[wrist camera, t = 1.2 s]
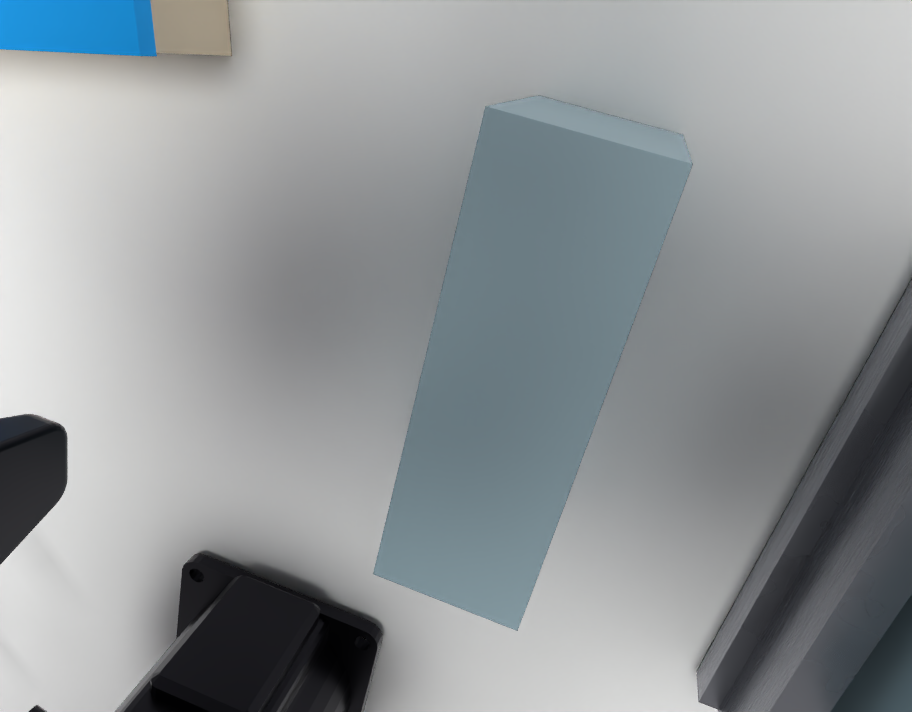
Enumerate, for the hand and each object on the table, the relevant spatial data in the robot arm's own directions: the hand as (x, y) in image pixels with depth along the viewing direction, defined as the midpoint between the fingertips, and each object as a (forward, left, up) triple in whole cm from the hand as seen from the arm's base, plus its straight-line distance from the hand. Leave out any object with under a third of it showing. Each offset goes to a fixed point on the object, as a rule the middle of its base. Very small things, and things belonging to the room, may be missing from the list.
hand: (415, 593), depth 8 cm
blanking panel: (0, 0, -10) cm, 10 cm away
